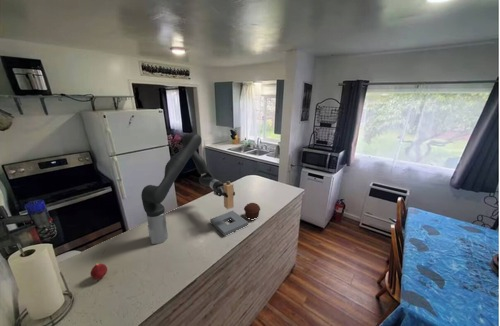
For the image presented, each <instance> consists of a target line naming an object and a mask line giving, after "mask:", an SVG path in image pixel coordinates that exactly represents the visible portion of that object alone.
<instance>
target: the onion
mask: <svg viewBox="0 0 500 326" xmlns="http://www.w3.org/2000/svg"><path fill="white" fill-rule="evenodd" d="M107 272H108V267H107V265H106V264H105V263H95V264H94V266H93V267H92V268H91V271H90V277H91V278H92V279H94V280H99V279H102V278H104V277H105V276H106V275H107Z"/></svg>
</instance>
